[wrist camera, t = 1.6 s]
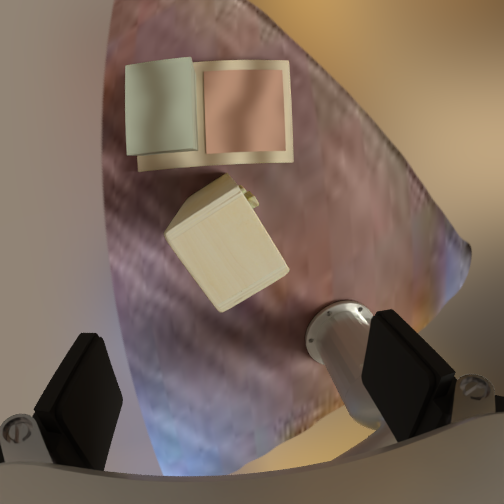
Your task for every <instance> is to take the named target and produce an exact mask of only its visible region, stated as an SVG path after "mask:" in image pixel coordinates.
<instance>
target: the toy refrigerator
mask: <svg viewBox="0 0 504 504" xmlns="http://www.w3.org/2000/svg"><path fill="white" fill-rule="evenodd" d="M258 205H259V203H258V201H257V199H256V198H255V196H254V195H253V194H252V193H251V192H250V191H248V192H246V190H245V189H244V188H243V187H242V186H241V185H239V186H238V185H237V184H236V183H235V181H234V180H233V179H232V178H231V177H230V176H229V174H228V173H226V174H224V175H223V176H221V177H219V178H218V179H216V180H214V181H213V182H211V183H210V184H208V185H207V186H205V187H204V188H202V189H201V190H199V191H197V192H196V193H194V194H193V195H191V196H190V197H188V198H187V199H186V201H185V202H184V204H183V205H182V207H181V208H180V209H179V211H178V212H177V214H176V215H175V217H174V218H173V220H172V221H171V223H170V224H169V226H168V227H167V229H166V230H165V232H164V237H165V239H166V240H167V242H168V244H169V245H170V247H171V248H172V249H173V251H174V252H175V254H176V255H177V256H178V258H179V259H180V261H181V262H182V263H183V265H184V266H185V267H186V269H187V270H188V272H189V273H190V274H191V276H192V277H193V278H194V280H195V281H196V282H197V284H198V285H199V286H200V288H201V289H202V290H203V292H204V293H205V295H206V296H207V297H208V299H209V300H210V301H211V303H212V304H213V305H214V307H215V308H216V309H217V310H218V311H219V312H221V313H222V312H224V311H226V310H228V309H230V308H232V307H233V306H235V305H237V304H238V303H240V302H242V301H243V300H245V299H247V298H248V297H250V296H252V295H253V294H255V293H257V292H258V291H260V290H262V289H263V288H265V287H267V286H268V285H270V284H272V283H273V282H275V281H277V280H278V279H280V278H281V277H283V276H285V275H286V274H287V273H288V272H289V268H288V266H287V264H286V263H285V261H284V259H283V258H282V256H281V254H280V253H279V251H278V249H277V248H276V246H275V244H274V243H273V241H272V239H271V238H270V236H269V235H268V233H267V231H266V230H265V228H264V226H263V225H262V223H261V221H260V220H259V218H258V217H257V215H256V213H255V212H254V210H253V208H255V207H256V206H258Z"/></svg>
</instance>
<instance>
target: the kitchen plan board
mask: <svg viewBox="0 0 504 504" xmlns="http://www.w3.org/2000/svg"><path fill="white" fill-rule="evenodd" d="M125 124H126V150H127V155H132V156H137V162H138V172H142V171H152V170H161V169H172V168H183V167H196V166H210V165H226V164H247V163H280V162H293V133H292V109H291V88H290V70H289V61H284V60H224V61H206V62H192V59H191V57H184V58H174V59H166V60H158V61H151V62H144V63H138V64H132V65H126V68H125Z"/></svg>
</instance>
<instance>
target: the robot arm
mask: <svg viewBox="0 0 504 504" xmlns="http://www.w3.org/2000/svg"><path fill="white" fill-rule="evenodd" d="M305 343H306V348H307V350H308V352H309V354H310V356H311V357H312V358H313V359H314V360H315V361H317V362H318V363H321V364H323V365H325V366H326V368H327V370H328V372H329V374H330V376H331V378H332V380H333V382H334V384H335V386H336V388H337V390H338V392H339V394H340V396H341V398H342V400H343V402H344V404H345V406H346V408H347V410H348V412H349V414H350V416H351V417H352V418H353V419H354V420H355V421H356V422H357V423H358V424H360V425H362V426H364V427H366V428H369V429H373V430H376V431H375V432H374V433H373V434H371V435H370V436H368V438H367V439H365V440H363V441H362V442H360V443H359V444H357V445H356V446H354V447H353V448H351V449H350V450H348V451H346V452H345V453H343V454H341V455H340V456H338V457H337V458H335V459H333V460H332V461H328V462H323V463H318V464H313V465H308V466H302V467H297V468H290V469H283V470H277V471H268V472H260V473H250V474H239V475H222V476H153V475H138V474H127V473H117V472H108V471H104V468H105V464H106V460H107V456H108V452H109V448H110V445H111V441H112V438H113V434H114V431H115V427H116V424H117V420H118V417H119V413H120V410H121V407H122V401H123V398H122V394H121V391H120V388H119V386H118V383H117V380H116V377H115V374H114V371H113V369H112V365H111V363H110V359H109V356H108V353H107V350H106V346H105V343H104V340H103V338H102V337H99V336H98V334H96V333H81V334H80V335H79V336H78V338H77V339H76V341H75V342H74V344H73V345H72V347H71V348H70V350H69V351H68V353H67V355H66V356H65V358H64V359H63V361H62V363H61V364H60V366H59V367H58V369H57V370H56V372H55V374H54V375H53V377H52V379H51V380H50V382H49V384H48V385H47V387H46V389H45V390H44V392H43V394H42V395H41V397H40V399H39V401H38V402H37V404H36V406H35V408H34V411H35V413H34V415H33V417H31V416H30V415H27V414H16V415H13V416H11V417H9V418H7V419H6V420H5V421H4V422H3V423H2V425H1V426H0V504H504V397H502V396H497V395H495V390H494V387H493V385H492V383H491V382H490V381H489V380H487V379H486V378H485V377H483V376H480V375H476V374H467V375H463V376H461V377H460V378H459V379H458V380H457V379H456V378H455V377H454V375H455V371H454V370H453V369H452V368H451V367H450V366H449V365H448V364H447V363H446V361H445V360H444V359H443V358H442V357H441V356H440V355H439V354H438V353H437V352H436V351H435V350H434V349H433V348H432V347H431V346H430V345H429V344H428V343H427V342H425V340H424V339H423V338H422V337H421V336H420V335H419V334H418V333H417V332H416V331H415V330H413V329H412V328H411V327H410V326H409V325H408V324H407V323H406V322H405V321H404V320H403V319H402V318H401V317H400V316H399V315H398V314H397V313H396V312H395V311H394V310H392V309H390V310H384V311H378V312H376V314H375V316H373V315H372V313H371V312H370V310H369V309H368V308H367V307H366V306H365V305H363V304H361V303H359V302H356V301H349V300H346V301H339V302H336V303H333V304H331V305H329V306H327V307H325V308H324V309H323V310H321V311H320V312H319V313H318V314H317V315H316V316H315V317H314V318H313V320H312V321H311V322H310V324H309V326H308V328H307V331H306V336H305Z"/></svg>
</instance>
